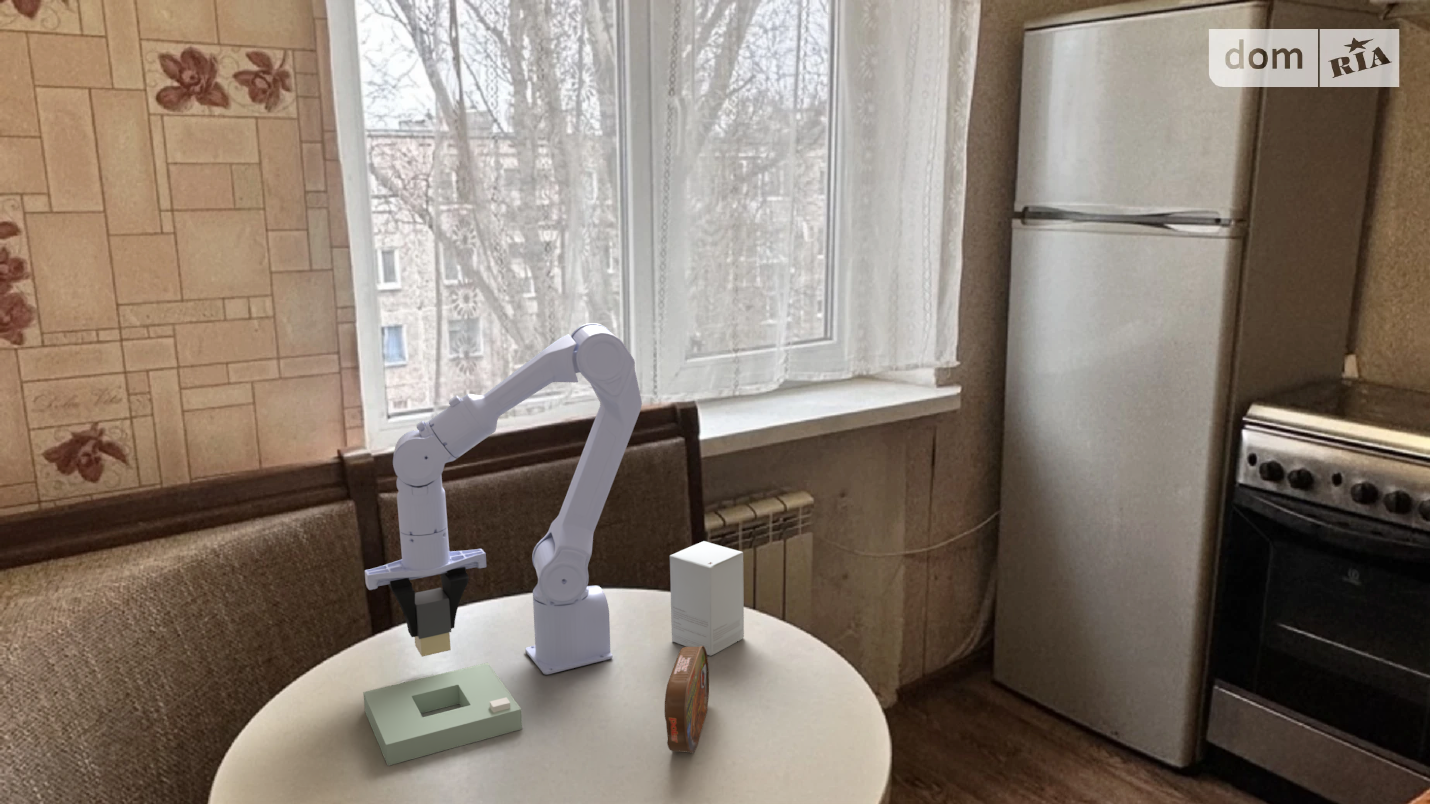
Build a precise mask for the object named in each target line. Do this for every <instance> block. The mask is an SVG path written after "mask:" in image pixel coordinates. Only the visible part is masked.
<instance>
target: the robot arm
mask: <svg viewBox="0 0 1430 804" xmlns="http://www.w3.org/2000/svg"><path fill="white" fill-rule="evenodd" d="M635 361H636V360H635V359H634V357H633V355H632V354H631V352H630V351H629V349H628V348H627V346H626V345H625V343H624V341H622V339H620V337H619V336H616V335H615V334H614V333H612V331H611V330H610V329H609V328H607V327H606V326H604V325H602V324H601V323H596V322H591V323H589V322H588V323H585V324H582V325H580V326H579V327H576V329H574V331H573V332H572V333H571V335H570V334H569V333H567V334H566V335H563V336H561V337H560V338H558V339H556V340H555V341H554V342H552V343H551V344H549V345H548V346H547V347H545V348H544V349H542V350H541V351H540V352H539V353H537V354H536V355H535V356H533V357H532V358H531V359H528V361H526V362H525V363H524V364H523V365H521V366H520V367H518V368H517V369H516V370H515V371H514V372H512V373H511V374H509V375H508V376H506V377H505V378H504V379H503V380H502V381H500V382H499V383H497V384H496V385H495V386H494V387H492V388H491V389H489V390H488V391H487V392H486V393H484V394H480V395H479V394H473V393H467V394H465V395H464V396H462V397H460V396H459V395H454V396H453V397H452V398H451V399H449V400H448V405H449V406H448V407H446V408H445V409H444V410H442V411H441V412H439V413H438V414H436V415H435V416H434V417H432V418H430V419H429V420H428V421H426V422H425V421H424V420H421V421H419V422H418V423H417V424H416V429H417V430H410V431H408V432H406V433H404V434H403V435H402V436H400V438H398V440H397V442H396V444H395V446H394V447H395V448H394V451H393V458H392V465H393V466H392V467H393V471H394V473H395V476H397V477H396V488H397V490H398V492H397V493H396V502H397V503H396V504H397V513H398V514H397V515H398V527H399V528H398V529H399V539H400V549H401V550H400V551H401V559H399V560H395V561H393V562H389V563H386V564H384V565H379V566H377V567H373V568H370V569H365V570H364V579H365V585H366V588H367V589H368V590H369V591H372V590H376V589H378V587H380V586H386V585H388V587H389V589H390V590H391V592H392V594H393V595H394V597H395V598H396V600H397V602H398V604H399V607H400V609H401V611H402V613H403V616H404V619H405V622H406V625H407V631H408V633H409V635H410V637H411V638H415V637H416V636H417V623H416V617H415V593H416V591H415V589H414V588H413V583H412V582H411V581H412V580H416V579H422V578H423V579H424V578H428V577H433V576H437V575H440V580H441V585H442V586H441V588H442V590H443V591H444V593H445V594H446V595H447V597H448V598H449V606H450V620H451V630H452V629H455V626H456V625H455V624H456V617H457V613H458V608H459V604H460V601H461V598H462V596H463V594H464V592H465V590H466V588H467V586H468V584H469V574H468V573H467V570H469V569H472V568H477V569H483V568H487V556H486V554H487V553H486V552H485V551H484V549H482V548H477V549H468V550H456V551H455V550H454V551H453V550H450V543H449V541H450V540H449V530H448V527H449V526H448V515H447V513H448V512H447V500H446V491H445V488H444V486H443V479H442V478H443V477H442V474H443V471H444V468H445V465H446V464H447V463H450V462H454V461H456V460H458V459H459V458H460V457H461V456H463V455H464V454H465V453H467V452H468V451H470V450H472V448H474V447H476V446H477V445H478V444H479V443H481V442H482V441H484V440H485V439H487V438H488V437H490V436H491V435H493V434H494V433H495V432H496V430H497V426H498V419H499V418H500V416H502V415H504V414H506V413H507V412H509V411H510V410H511V409H513V408H515V407H516V406H517V405H520V403H522V402H524V401H525V400H527V399H528V398H530V397H532V396H533V395H535V394H537V393H538V392H540V391H541V390H543V389H544V388H546V387H547V386H549V385H551V384H552V383H578V382H579V378H578V376H577V374H578V373H580V374H581V375H582V376H583V378H584V379H585V380H586V381H588V383H589V384H590V386H591V388H592V389H593V391H594V393H595V396H596V397H597V399H598V402H599V408H598V410H597V413H596V415H595V419H594V420H593V423H592V426H591V428H590V432H589V434H588V437H587V439H586V442H585V445H584V447H583V450H582V452H581V455H580V458H579V460H578V463H577V466H576V468H575V471H574V474H573V476H572V478H571V480H570V481H571V482H570V484H569V487H568V490H567V492H566V496H565V498H564V500H563V502H562V506H561V508H560V510H559V513H558V515H557V517H556V518H555V519H554V520H552V522H551V523H550V526H549V528H548V531H547V533H546V534H545V535H544V537H542V538H541V539H540V540H539V541H538V542H537V543H536V545H535V546H534V548H533V551H532V555H531V556H532V557H531V560H532V565H533V567H534V569H535V571H536V576H537V584H536V585H535V586H534V588H533V590H532V605H533V607H532V608H533V609H532V610H533V623H534V624H533V625H534V626H533V627H534V629H533V631H534V645H531V646H527V647H525V650H524V652H525V653H526V654H527V655H528V656H529V657H530V658H531V660H532V661H533V663H535V665H536V667H537V668H538V669H539V670H540V671H541V672H542V674H543V675H551V674H555V673H560V672H563V671H567V670H571V669H574V668H575V669H576V668H579V667H583V666H587V665H592V664H595V663H599V662H602V661H607V660H611V659H613V656H614V654H613V653H612V652H611V631H610V630H611V629H610V627H611V626H610V625H611V624H610V609H609V603H608V599H607V596H606V594H605V592H604V589H602V587H600V585H588V584H589V580H590V579H589V577H590V575H589V569H588V567H589V562H590V559H591V557H592V553H593V543H594V541H593V540H594V532H595V530H596V527H597V525H598V522H599V520H600V517H601V515H602V512H603V509H604V507H605V504H606V501H607V498H608V496H609V494H610V491H611V488H612V486H613V483H614V481H615V477H616V476H617V472H618V469H619V467H620V465H621V462H622V459H623V457H624V454H625V452H626V449H627V446H628V443H629V441H630V439H631V436H632V434H633V431H634V428H635V425H636V423H637V420H638V417H639V415H640V412H641V410H642V405H643V403H642V397H641V391H640V388H639V387H640V386H639V383H638V378H637V372H636V362H635Z"/></svg>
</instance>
